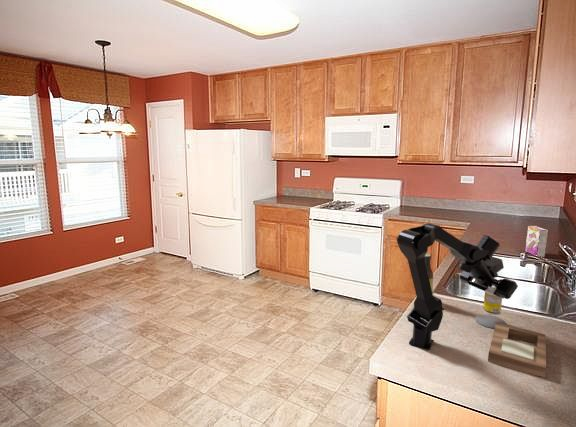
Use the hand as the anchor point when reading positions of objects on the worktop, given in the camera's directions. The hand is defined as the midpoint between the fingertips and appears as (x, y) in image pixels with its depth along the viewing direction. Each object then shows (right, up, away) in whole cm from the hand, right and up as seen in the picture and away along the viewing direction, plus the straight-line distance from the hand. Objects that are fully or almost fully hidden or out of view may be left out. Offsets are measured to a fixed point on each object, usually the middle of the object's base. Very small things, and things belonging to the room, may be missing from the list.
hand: (495, 294), depth 130 cm
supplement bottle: (-1, -7, +1) cm, 7 cm away
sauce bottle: (-19, -7, +20) cm, 28 cm away
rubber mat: (-1, -11, +1) cm, 11 cm away
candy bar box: (+71, +5, +83) cm, 109 cm away
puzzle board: (-3, -14, -17) cm, 22 cm away
